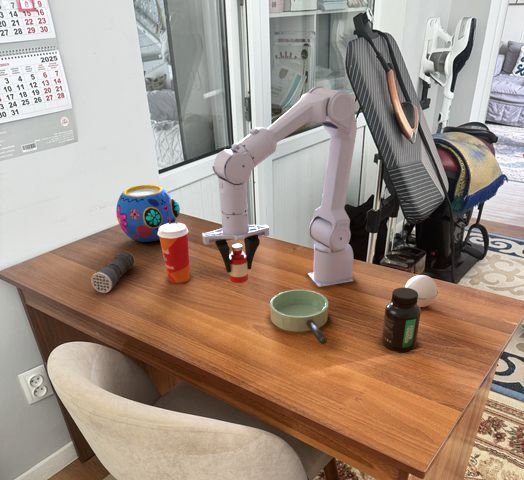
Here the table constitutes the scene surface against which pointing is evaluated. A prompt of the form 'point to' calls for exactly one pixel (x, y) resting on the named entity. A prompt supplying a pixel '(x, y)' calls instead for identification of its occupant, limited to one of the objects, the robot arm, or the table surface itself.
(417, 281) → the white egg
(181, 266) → the paper cup
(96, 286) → the flashlight
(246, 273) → the sauce bottle
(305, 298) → the pan
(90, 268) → the table surface
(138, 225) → the ceramic pot
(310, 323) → the pan handle
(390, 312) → the supplement bottle
